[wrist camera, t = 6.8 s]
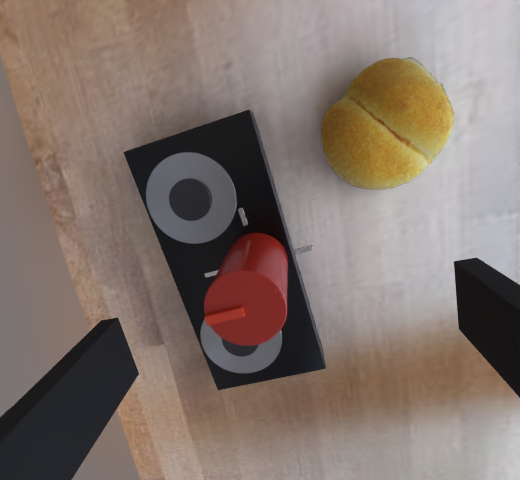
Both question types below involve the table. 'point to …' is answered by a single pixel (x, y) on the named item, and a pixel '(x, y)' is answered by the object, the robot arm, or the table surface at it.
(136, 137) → the table surface
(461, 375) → the table surface
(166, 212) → the burner rings
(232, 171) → the hob
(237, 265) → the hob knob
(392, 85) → the bread roll
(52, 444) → the robot arm
